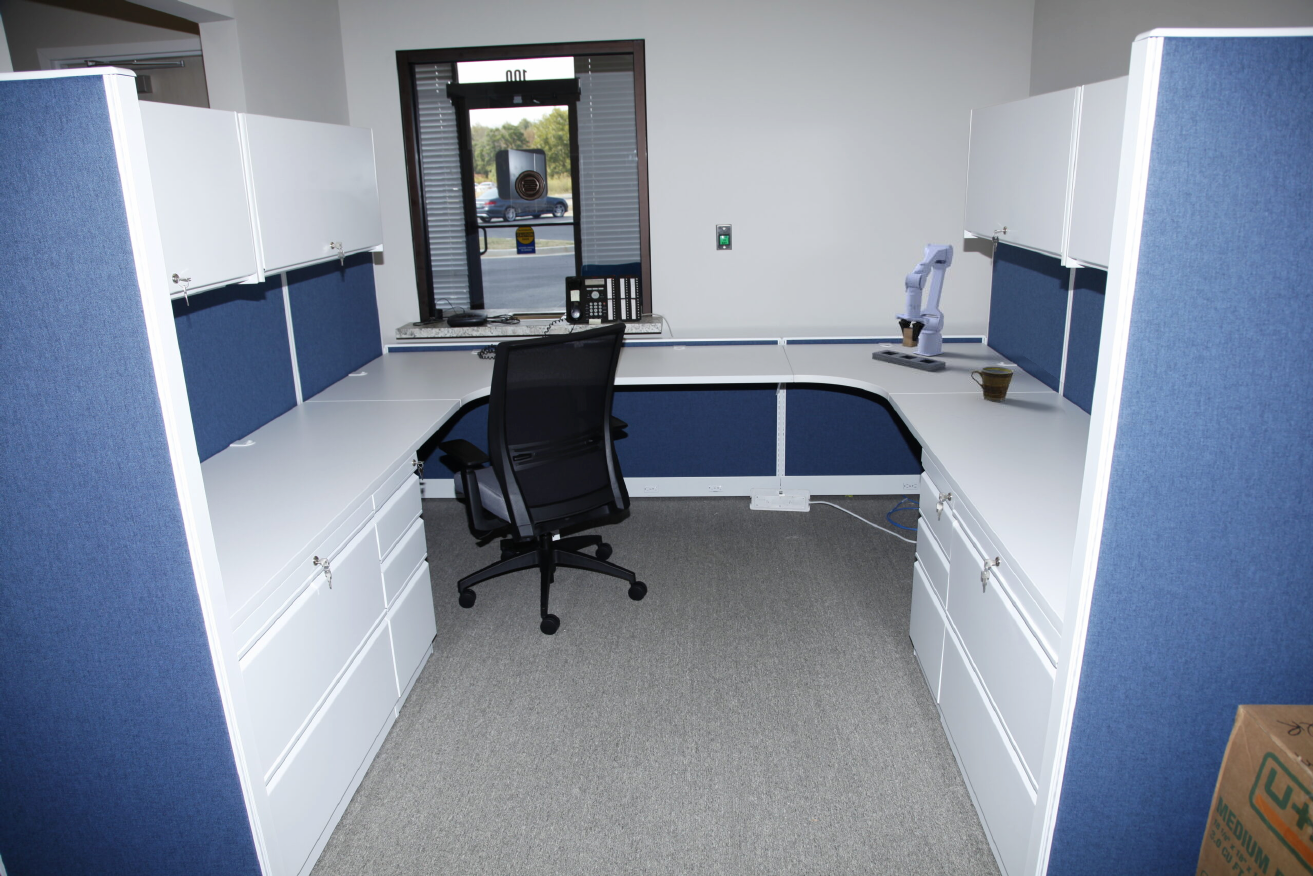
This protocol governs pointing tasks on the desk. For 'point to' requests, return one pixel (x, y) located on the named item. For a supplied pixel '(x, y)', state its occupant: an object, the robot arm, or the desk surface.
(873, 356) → the grey square hole board
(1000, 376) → the ceramic cup
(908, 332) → the square peg
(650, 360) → the desk surface
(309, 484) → the desk surface
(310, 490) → the desk surface
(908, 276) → the robot arm
